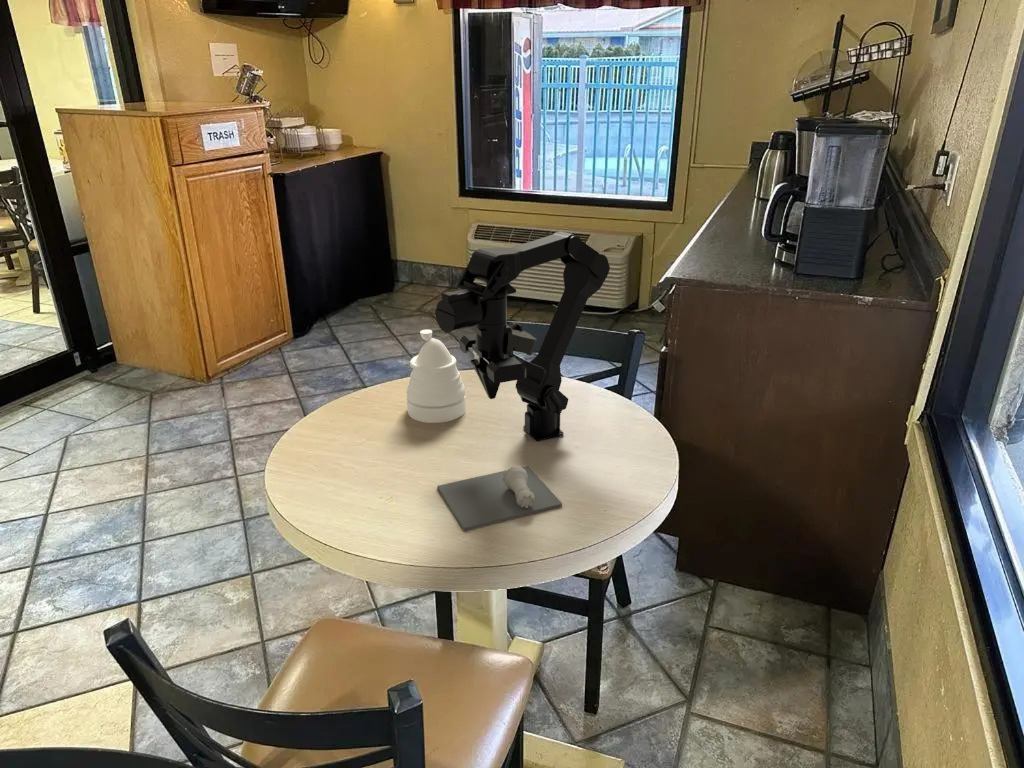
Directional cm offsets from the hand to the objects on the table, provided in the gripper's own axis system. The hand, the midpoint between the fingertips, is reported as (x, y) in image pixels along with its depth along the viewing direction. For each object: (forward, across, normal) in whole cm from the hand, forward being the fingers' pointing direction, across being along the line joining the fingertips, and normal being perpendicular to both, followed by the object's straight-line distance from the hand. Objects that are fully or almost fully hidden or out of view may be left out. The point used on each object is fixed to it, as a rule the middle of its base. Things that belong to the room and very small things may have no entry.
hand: (491, 398), depth 136 cm
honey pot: (+12, +23, +4) cm, 26 cm away
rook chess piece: (+9, -13, +1) cm, 16 cm away
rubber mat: (+12, -15, +5) cm, 20 cm away
